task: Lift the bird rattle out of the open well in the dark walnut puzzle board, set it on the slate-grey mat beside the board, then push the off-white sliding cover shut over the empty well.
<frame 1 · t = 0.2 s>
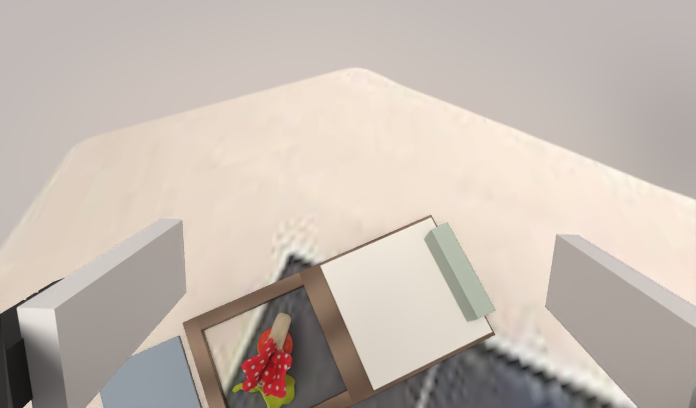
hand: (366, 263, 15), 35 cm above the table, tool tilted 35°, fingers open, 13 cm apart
bird rattle: (274, 359, 47), on the table
puzzle board: (324, 336, 48), on the table
sliding cover: (406, 296, 46), point 4 cm above the table, slide at 0.0 cm
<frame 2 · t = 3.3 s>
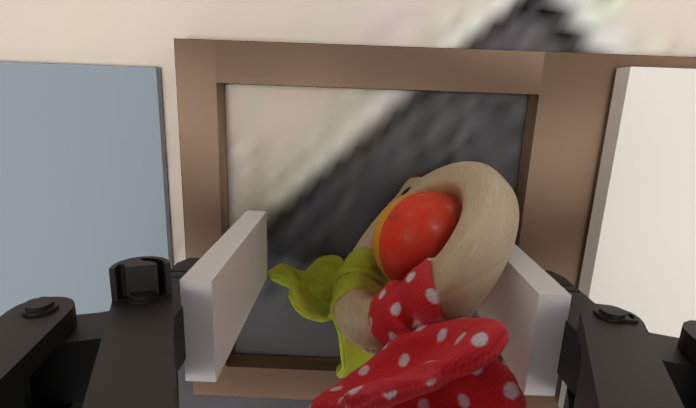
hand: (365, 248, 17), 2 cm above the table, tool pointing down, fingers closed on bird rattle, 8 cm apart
bird rattle: (383, 234, 19), on the table, touching gripper
puzzle board: (509, 240, 18), on the table
slate mat: (66, 222, 19), on the table
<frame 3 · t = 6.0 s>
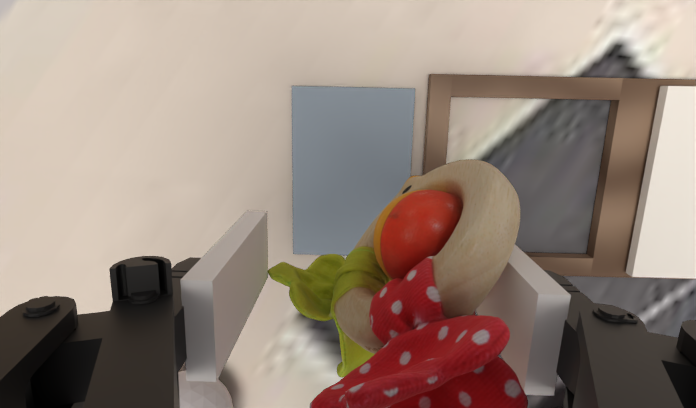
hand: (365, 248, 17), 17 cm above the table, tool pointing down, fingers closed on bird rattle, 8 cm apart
bird rattle: (384, 233, 19), point 15 cm above the table, touching gripper
puzzle board: (598, 180, 33), on the table
slate mat: (351, 174, 33), on the table
perfume bottle: (211, 397, 39), on the table
when the fingers open (3 cm above the table, at t = 9.1 s): bird rattle stays where it is, resting on slate mat.
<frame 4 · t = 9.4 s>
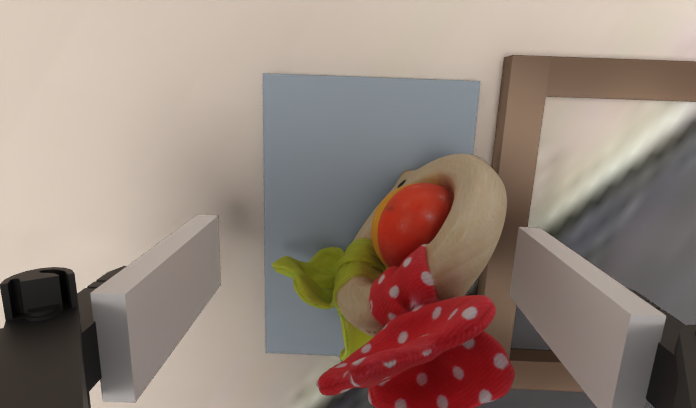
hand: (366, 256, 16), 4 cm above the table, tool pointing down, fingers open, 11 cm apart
bird rattle: (381, 225, 20), resting on slate mat
slate mat: (364, 225, 20), on the table
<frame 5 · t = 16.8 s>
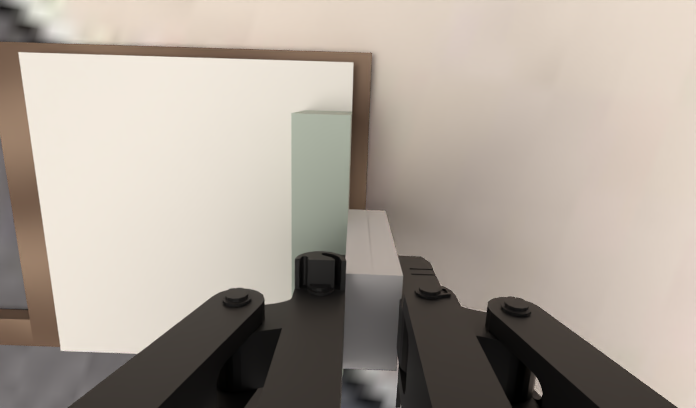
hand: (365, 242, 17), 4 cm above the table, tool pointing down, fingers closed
puzzle board: (27, 201, 22), on the table
sliding cover: (180, 229, 18), point 4 cm above the table, slide at 0.3 cm, touching gripper
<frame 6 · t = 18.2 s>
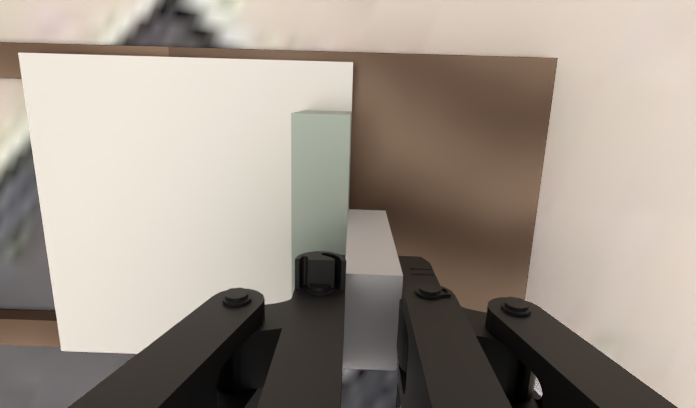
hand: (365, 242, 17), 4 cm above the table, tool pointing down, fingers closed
puzzle board: (187, 207, 22), on the table
sliding cover: (180, 229, 18), point 4 cm above the table, slide at 8.4 cm, touching gripper
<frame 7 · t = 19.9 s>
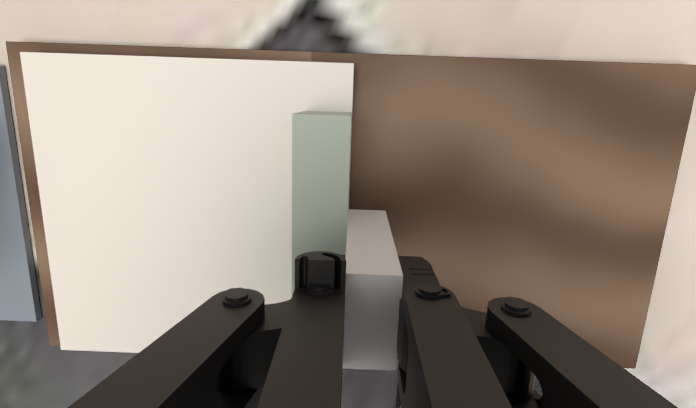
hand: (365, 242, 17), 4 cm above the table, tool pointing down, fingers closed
puzzle board: (311, 211, 22), on the table
sliding cover: (180, 229, 18), point 4 cm above the table, slide at 14.6 cm, touching gripper
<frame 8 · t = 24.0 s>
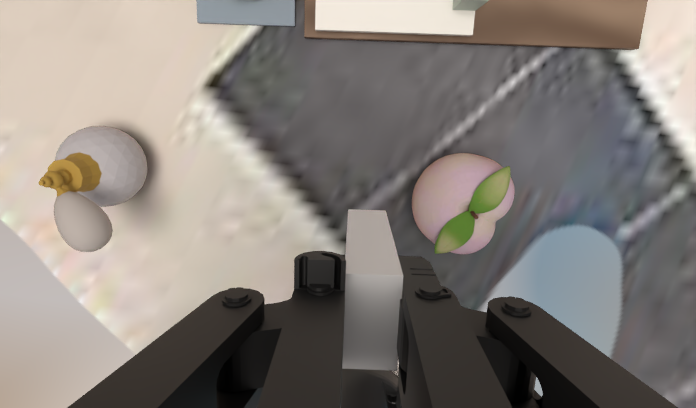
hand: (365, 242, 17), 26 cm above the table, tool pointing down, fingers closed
decorative fruit: (446, 189, 44), on the table
perfume bottle: (132, 168, 44), on the table
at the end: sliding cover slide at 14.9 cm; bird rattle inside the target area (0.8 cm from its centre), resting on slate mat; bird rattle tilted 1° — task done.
